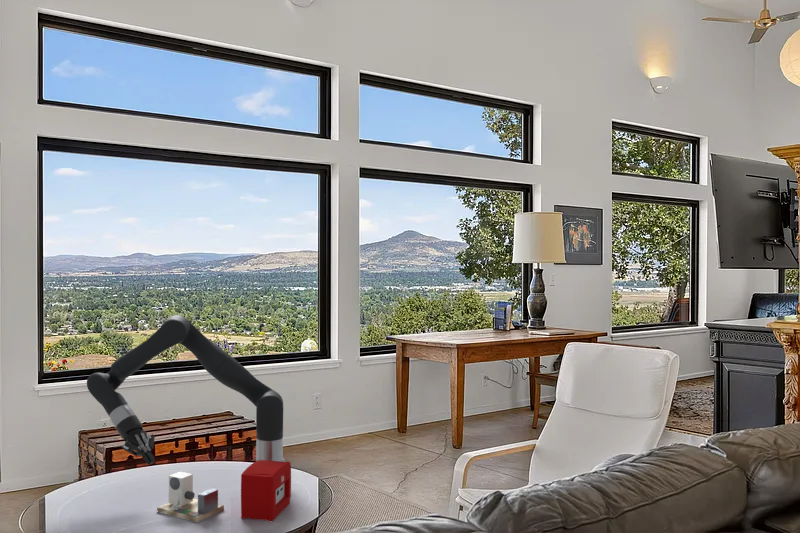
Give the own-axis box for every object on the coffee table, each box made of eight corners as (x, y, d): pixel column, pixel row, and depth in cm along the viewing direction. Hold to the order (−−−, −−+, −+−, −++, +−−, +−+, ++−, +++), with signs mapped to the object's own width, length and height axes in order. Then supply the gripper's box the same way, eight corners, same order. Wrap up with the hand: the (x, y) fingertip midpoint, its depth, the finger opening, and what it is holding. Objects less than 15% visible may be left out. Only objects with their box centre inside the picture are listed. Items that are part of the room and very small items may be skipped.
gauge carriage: (161, 506, 238) (161, 478, 237) (179, 498, 245) (180, 471, 245) (178, 510, 234) (179, 482, 234) (197, 502, 242) (197, 475, 241)
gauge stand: (157, 512, 238) (157, 506, 238) (184, 500, 249) (184, 495, 249) (197, 522, 230) (197, 516, 230) (223, 509, 241) (223, 504, 241)
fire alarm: (273, 522, 232) (273, 474, 231) (240, 518, 234) (241, 471, 233) (291, 503, 248) (291, 459, 247) (260, 501, 250) (260, 456, 249)
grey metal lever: (175, 509, 235) (175, 495, 235) (179, 507, 237) (179, 493, 237) (177, 510, 235) (177, 495, 235) (181, 508, 236) (181, 493, 236)
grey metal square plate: (197, 513, 234) (197, 494, 234) (211, 506, 240) (212, 488, 239) (203, 514, 233) (204, 495, 233) (217, 508, 238) (218, 489, 238)
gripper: (115, 418, 245) (142, 461, 240) (146, 410, 257) (172, 451, 252) (104, 432, 248) (130, 475, 243) (135, 423, 260) (161, 464, 254)
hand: (152, 462), depth 247 cm, fingers closed
